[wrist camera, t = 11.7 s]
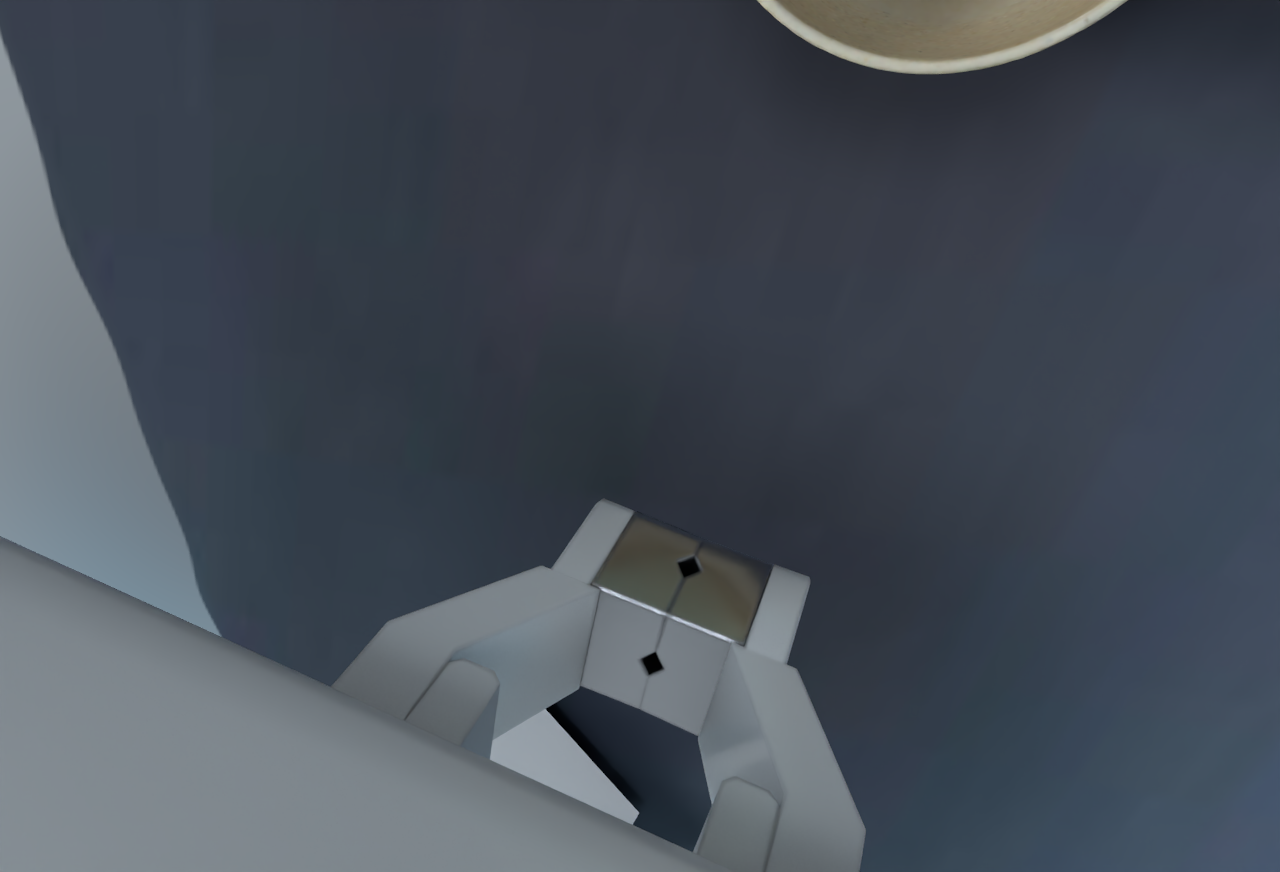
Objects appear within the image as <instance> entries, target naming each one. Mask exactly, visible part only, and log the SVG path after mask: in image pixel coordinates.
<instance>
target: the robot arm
mask: <svg viewBox="0 0 1280 872" xmlns="http://www.w3.org/2000/svg"><path fill="white" fill-rule="evenodd" d="M772 565H773V564H770V563H767V562H765V561H762V560H759V559H757V558H754V557H751V556H749V555H746V554H743V553H741V552H738V551H735V550H733V549H730V548H727V547H725V546H722V545H719V544H717V543H714V542H711V541H709V540H706V539H704V538H701V537H699V536H696V535H694V534H691V533H689V532H686V531H684V530H682V529H679V528H677V527H674V526H672V525H669V524H667V523H664V522H662V521H660V520H657V519H655V518H652V517H650V516H647V515H645V514H642V513H640V512H638V511H637V512H635V511H633V510H631V509H629V508H626V507H624V506H621V505H619V504H616V503H614V502H611V501H609V500H606V499H604V498H603V499H602V500H600V501H599V502H598V503H596V504H595V506H594V507H593V509H592V510H591V512H590V513H589V515H588V516H587V517H586V519H585V520H584V522H583V523H582V525H581V526H580V528H579V529H578V531H577V532H576V533H575V535H574V536H573V538H572V539H571V541H570V542H569V544H568V545H567V547H566V548H565V549H564V551H563V552H562V554H561V555H560V557H559V558H558V560H557V561H556V563H555V564H554V565H553V567H552V568H551V569H549V568H547V567H544V566H538V567H536V568H533V569H530V570H527V571H525V572H522V573H519V574H516V575H514V576H511V577H508V578H505V579H503V580H500V581H497V582H494V583H492V584H489V585H486V586H483V587H481V588H478V589H475V590H472V591H470V592H467V593H464V594H461V595H459V596H456V597H453V598H450V599H448V600H445V601H442V602H439V603H437V604H434V605H431V606H428V607H426V608H423V609H420V610H417V611H415V612H412V613H409V614H406V615H404V616H401V617H398V618H396V619H393V620H390V621H388V622H387V623H386V624H385V625H384V626H383V627H382V629H381V630H380V631H379V632H378V633H377V634H376V635H375V637H374V638H373V639H372V640H371V641H370V642H369V644H368V645H367V646H366V647H365V648H364V649H363V650H362V652H361V653H360V654H359V655H358V656H357V657H356V658H355V660H354V661H353V662H352V663H351V664H350V665H349V667H348V668H347V669H346V670H345V671H344V672H343V673H342V675H341V676H340V677H339V678H338V679H337V680H336V682H335V683H334V684H333V685H332V686H331V687H330V686H327V685H325V684H323V683H321V682H319V681H316V680H314V679H312V678H310V677H308V676H305V675H303V674H301V673H299V672H297V671H295V670H292V669H290V668H288V667H286V666H284V665H281V664H279V663H277V662H275V661H273V660H270V659H268V658H266V657H264V656H262V655H259V654H257V653H255V652H253V651H251V650H248V649H246V648H244V647H242V646H240V645H238V644H235V643H233V642H231V641H229V640H227V639H224V638H222V637H220V636H218V635H216V634H213V633H211V632H209V631H207V630H205V629H202V628H200V627H198V626H196V625H193V624H192V623H189V622H187V621H185V620H183V619H181V618H178V617H176V616H174V615H172V614H170V613H167V612H165V611H163V610H161V609H159V608H156V607H154V606H152V605H150V604H147V603H146V602H143V601H141V600H139V599H137V598H134V597H132V596H130V595H128V594H126V593H123V592H121V591H119V590H117V589H115V588H112V587H110V586H108V585H106V584H104V583H102V582H99V581H97V580H95V579H93V578H91V577H89V576H86V575H84V574H82V573H80V572H77V571H75V570H73V569H71V568H69V567H66V566H64V565H62V564H60V563H58V562H56V561H53V560H51V559H49V558H47V557H45V556H42V555H40V554H38V553H36V552H34V551H31V550H29V549H27V548H25V547H23V546H21V545H18V544H16V543H14V542H12V541H9V540H7V539H5V538H3V537H1V536H0V872H860V865H861V859H862V853H863V846H864V840H865V833H866V829H865V827H864V824H863V822H862V820H861V817H860V815H859V813H858V810H857V808H856V806H855V803H854V801H853V798H852V796H851V794H850V791H849V789H848V787H847V784H846V782H845V780H844V777H843V775H842V773H841V770H840V768H839V766H838V763H837V761H836V759H835V756H834V754H833V752H832V749H831V747H830V745H829V742H828V740H827V737H826V735H825V733H824V730H823V728H822V726H821V723H820V721H819V719H818V716H817V714H816V712H815V709H814V707H813V705H812V702H811V700H810V698H809V695H808V693H807V691H806V688H805V686H804V683H803V681H802V679H801V676H800V674H799V672H798V669H796V668H794V667H791V666H789V665H787V661H788V658H789V655H790V651H791V648H792V644H793V641H794V638H795V634H796V631H797V627H798V624H799V620H800V617H801V614H802V610H803V607H804V603H805V600H806V596H807V593H808V590H809V586H810V583H811V582H810V577H808V576H805V575H803V574H800V573H797V572H794V571H791V570H789V569H786V568H783V567H780V566H778V565H775V564H774V566H773V568H772ZM771 568H772V570H771ZM579 686H583V687H585V688H588V689H590V690H593V691H595V692H598V693H600V694H603V695H606V696H608V697H611V698H613V699H616V700H618V701H621V702H623V703H626V704H628V705H631V706H633V707H636V708H638V709H640V710H643V711H645V712H647V713H649V714H651V715H654V716H656V717H658V718H660V719H662V720H664V721H667V722H669V723H671V724H673V725H675V726H677V727H680V728H682V729H684V730H686V731H688V732H690V733H693V734H695V735H697V736H699V737H698V743H699V747H700V752H701V757H702V761H703V766H704V771H705V775H706V780H707V785H708V789H709V794H710V799H711V803H712V806H711V809H710V811H709V814H708V816H707V819H706V821H705V824H704V826H703V828H702V831H701V833H700V836H699V838H698V841H697V843H696V846H695V848H694V851H693V852H691V851H689V850H686V849H684V848H682V847H680V846H678V845H676V844H673V843H671V842H669V841H667V840H665V839H662V838H660V837H658V836H656V835H654V834H651V833H649V832H647V831H645V830H643V829H640V828H638V827H636V826H634V825H632V824H630V823H627V822H625V821H623V820H621V819H619V818H616V817H614V816H612V815H610V814H608V813H605V812H603V811H601V810H599V809H597V808H594V807H592V806H590V805H588V804H586V803H584V802H581V801H579V800H577V799H575V798H573V797H570V796H568V795H566V794H564V793H562V792H559V791H557V790H555V789H553V788H551V787H549V786H546V785H544V784H542V783H540V782H538V781H535V780H533V779H531V778H529V777H527V776H524V775H522V774H520V773H518V772H516V771H514V770H511V769H509V768H507V767H505V766H503V765H500V764H498V763H496V762H494V761H492V760H490V755H491V748H492V740H494V739H496V738H497V737H499V736H501V735H502V734H504V733H506V732H507V731H509V730H511V729H512V728H514V727H516V726H517V725H519V724H521V723H523V722H524V721H526V720H528V719H529V718H531V717H533V716H534V715H536V714H538V713H539V712H541V711H543V710H544V709H546V708H548V707H549V706H551V705H553V704H554V703H556V702H558V701H559V700H561V699H563V698H565V697H566V696H568V695H570V694H571V693H573V692H575V691H576V690H578V689H579Z"/></svg>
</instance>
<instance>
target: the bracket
mask: <svg viewBox="0 0 1280 872" xmlns="http://www.w3.org/2000/svg"><path fill="white" fill-rule="evenodd" d="M490 760H492V761H494V762H496V763H498V764H500V765H503V766H505V767H507V768H509V769H511V770H514V771H516V772H518V773H520V774H522V775H524V776H527V777H529V778H531V779H533V780H535V781H538V782H540V783H542V784H544V785H546V786H549V787H551V788H553V789H555V790H557V791H559V792H562V793H564V794H566V795H568V796H570V797H573V798H575V799H577V800H579V801H581V802H584V803H586V804H588V805H590V806H592V807H594V808H597V809H599V810H601V811H603V812H605V813H608V814H610V815H612V816H614V817H616V818H619V819H621V820H623V821H625V822H627V823H630V824H632V825H633V823H634V821H635V820H636V818H637V816H638V814H639V812H638V811H637V810H636V809H635V808H634V806H633V805H632V804H631V803H630V802H629V801H628V800H627V799H626V798H625V797H624V795H623V794H622V793H621V792H620V791H619V790H618V789H617V788H616V787H615V785H614V784H613V783H612V782H611V781H610V780H609V779H608V778H607V777H606V775H605V774H604V773H603V772H602V771H601V770H600V769H599V768H598V767H597V766H596V764H595V763H594V762H593V761H592V760H591V759H590V758H589V757H588V756H587V754H586V753H585V752H584V751H583V750H582V749H581V748H580V747H579V746H578V744H577V743H576V742H575V741H574V740H573V739H572V738H571V737H570V736H569V734H568V733H567V732H566V731H565V730H564V729H563V728H562V727H561V726H560V725H559V723H558V722H557V721H556V720H555V719H554V718H553V717H552V716H551V715H550V713H549V712H548V711H547V710H546V709H544V710H543V711H541V712H539V713H538V714H536V715H534V716H533V717H531V718H529V719H528V720H526V721H524V722H523V723H521V724H519V725H517V726H516V727H514V728H512V729H511V730H509V731H507V732H506V733H504V734H502V735H501V736H499V737H497V738H496V739H494V740H492V748H491V755H490Z"/></svg>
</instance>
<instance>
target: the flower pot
mask: <svg viewBox="0 0 1280 872" xmlns="http://www.w3.org/2000/svg"><path fill="white" fill-rule="evenodd" d="M1126 1H1128V0H758V2H759V3H760V4H761V5H762V6H763V7H764V8H765V9H766V10H767V11H768V12H770V13H771V14H772V15H773V16H774V17H775V18H776V19H777V20H778V21H780V22H781V23H782V24H784V25H785V26H786V27H787V28H789V29H790V30H791V31H792V32H793V33H795V34H796V35H798V36H799V37H801V38H803V39H804V40H806V41H807V42H809V43H811V44H812V45H814V46H816V47H818V48H820V49H822V50H825V51H827V52H829V53H831V54H833V55H835V56H838V57H840V58H843V59H845V60H848V61H851V62H854V63H857V64H860V65H864V66H868V67H872V68H876V69H880V70H886V71H892V72H899V73H909V74H947V73H958V72H965V71H972V70H979V69H984V68H989V67H993V66H997V65H1001V64H1005V63H1008V62H1011V61H1013V60H1018V59H1021V58H1024V57H1026V56H1029V55H1031V54H1034V53H1037V52H1039V51H1042V50H1044V49H1046V48H1049V47H1051V46H1053V45H1055V44H1057V43H1059V42H1061V41H1063V40H1065V39H1067V38H1069V37H1071V36H1073V35H1074V34H1076V33H1078V32H1080V31H1082V30H1084V29H1086V28H1088V27H1089V26H1091V25H1092V24H1094V23H1096V22H1097V21H1099V20H1100V19H1102V18H1103V17H1105V16H1106V15H1108V14H1110V13H1111V12H1112V11H1114V10H1115V9H1116V8H1118V7H1119V6H1121V5H1122V4H1123V3H1125V2H1126Z"/></svg>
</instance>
